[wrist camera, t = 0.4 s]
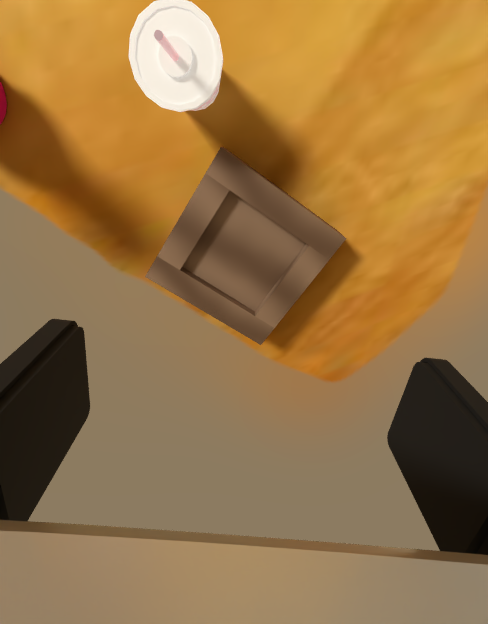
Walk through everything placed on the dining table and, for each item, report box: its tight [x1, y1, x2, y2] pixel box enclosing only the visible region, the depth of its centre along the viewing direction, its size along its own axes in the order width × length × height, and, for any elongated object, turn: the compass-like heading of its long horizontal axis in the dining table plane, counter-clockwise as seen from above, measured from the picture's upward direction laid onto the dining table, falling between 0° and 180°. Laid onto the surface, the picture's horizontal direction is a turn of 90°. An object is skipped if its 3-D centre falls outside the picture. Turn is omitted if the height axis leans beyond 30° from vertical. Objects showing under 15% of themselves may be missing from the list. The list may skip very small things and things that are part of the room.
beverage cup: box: [129, 0, 223, 112], centre depth 25 cm, size 6×6×14 cm
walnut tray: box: [145, 147, 346, 345], centre depth 36 cm, size 14×14×4 cm
